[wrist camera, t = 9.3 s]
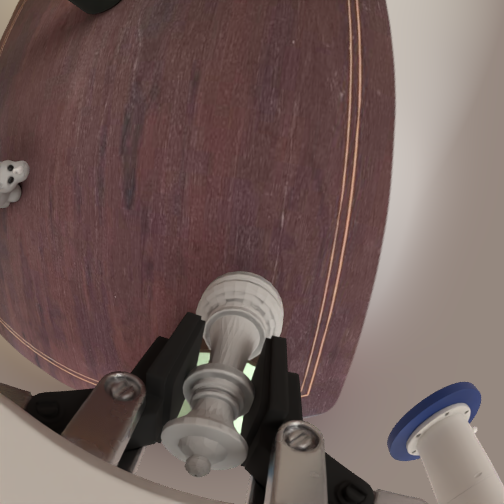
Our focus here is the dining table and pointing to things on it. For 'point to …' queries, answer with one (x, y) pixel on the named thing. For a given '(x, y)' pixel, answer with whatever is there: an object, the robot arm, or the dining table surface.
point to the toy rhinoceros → (11, 180)
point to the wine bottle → (94, 5)
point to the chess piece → (224, 372)
